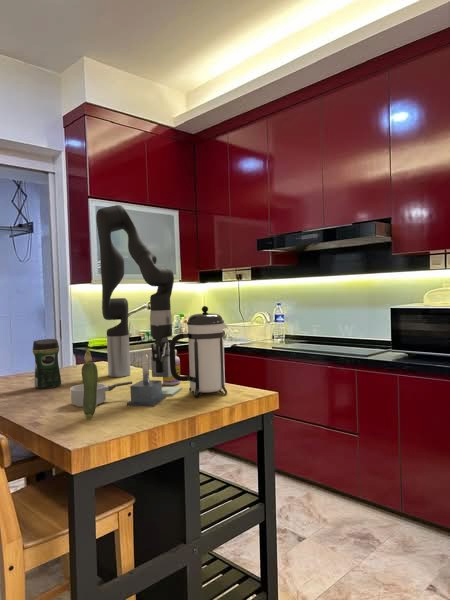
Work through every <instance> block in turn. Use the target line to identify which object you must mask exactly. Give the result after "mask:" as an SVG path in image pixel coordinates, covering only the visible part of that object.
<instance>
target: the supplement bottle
mask: <svg viewBox="0 0 450 600" xmlns="http://www.w3.org/2000/svg"><path fill="white" fill-rule="evenodd" d="M177 354H178V351H177V349H175V366H176V373H177V374H178V375H179V376H181V362H180V361H181V360H180V357H179V356H177ZM162 383H163V385H166V386H175V385H176V386H177V385H179V384H180V383H181V381H179V380H176V379H175V378H174V377H173V376H172V375H171V376H170V377H162Z"/></svg>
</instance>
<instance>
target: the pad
mask: <svg viewBox="0 0 450 600" xmlns="http://www.w3.org/2000/svg"><path fill="white" fill-rule="evenodd" d="M182 390H183V387H182V386H162V395H166V397H175V395H176V394H178V393H179V392H180V391H182Z"/></svg>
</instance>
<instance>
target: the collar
mask: <svg viewBox="0 0 450 600" xmlns="http://www.w3.org/2000/svg"><path fill="white" fill-rule="evenodd" d="M150 359H151V361H150V363H151V377H152V378H163V377H170V376H171V375H172V374H171V370H170V354H165V355H164V356H163V361H162V363H163V372H162V373H157V372H156V362H155V361H153V359H152V356H151V357H150Z"/></svg>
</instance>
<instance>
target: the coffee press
mask: <svg viewBox="0 0 450 600" xmlns="http://www.w3.org/2000/svg"><path fill="white" fill-rule="evenodd" d="M200 310H201V311H202V313H196V314H193V315H192V314H191V315H190V316H189V317H188V319H187V321H186V325H187V333H182V332H181V333H178V334H175V335H174V336H173V337H172V338H171V343H170V370H171V374H172V376H173V377H174V378H175V379H176V380H179V381H180V382H189V385H190V386H189V389H188V390H189V393H193V392H194V394H193V397H194V398H195V399H196V398H197V399H199V398H200V397H201V395H202V394H203V393H216V392H219V393H220V394H221V395H222V396H225V395H228V390H227V389H226V387H225V386H226V377H225V345H224V337H225V331H224V330H225V329H228V325H227V324H226V323H225V320H223V317H222V315H220V314H218V313H211V312H210V313H209V312H208V311H209V307H208V306H206V305H203V306H202V307H201V309H200ZM184 339H187V340H188V362H189V366H188V367H189V374H188V375H180V376H179V375H178V374H177V373H176V366H175V350H176V344H177V342H178V341H179V340H184Z"/></svg>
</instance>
